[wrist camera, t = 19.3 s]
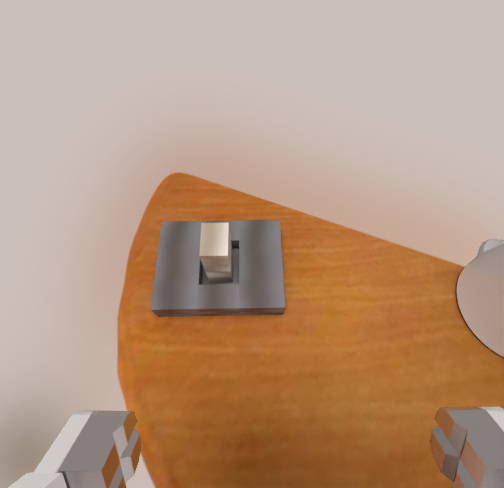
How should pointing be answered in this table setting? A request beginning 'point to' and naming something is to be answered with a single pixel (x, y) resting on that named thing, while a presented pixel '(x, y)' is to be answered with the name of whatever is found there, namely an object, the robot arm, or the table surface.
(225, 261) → the peg
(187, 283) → the slot holder
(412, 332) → the table surface
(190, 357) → the table surface
